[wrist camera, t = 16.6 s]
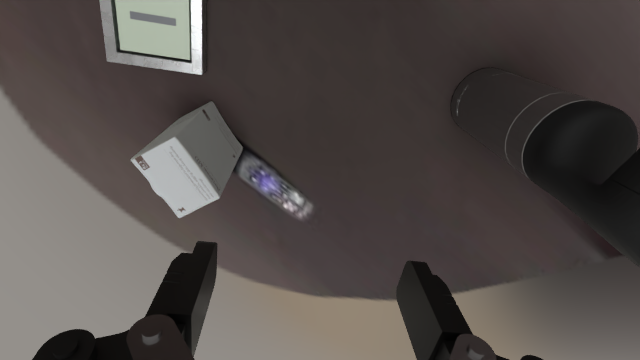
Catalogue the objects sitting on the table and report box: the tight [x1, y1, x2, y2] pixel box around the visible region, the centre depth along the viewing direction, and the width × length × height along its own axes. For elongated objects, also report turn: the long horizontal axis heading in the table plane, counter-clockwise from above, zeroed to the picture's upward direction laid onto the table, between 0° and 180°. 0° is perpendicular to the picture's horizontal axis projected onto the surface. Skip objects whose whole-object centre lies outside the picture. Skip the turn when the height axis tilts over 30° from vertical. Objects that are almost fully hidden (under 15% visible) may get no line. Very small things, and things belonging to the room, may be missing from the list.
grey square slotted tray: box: [99, 0, 207, 75], centre depth 40 cm, size 11×11×2 cm
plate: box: [115, 0, 192, 60], centre depth 39 cm, size 8×8×2 cm
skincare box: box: [131, 101, 243, 218], centre depth 41 cm, size 8×6×15 cm
